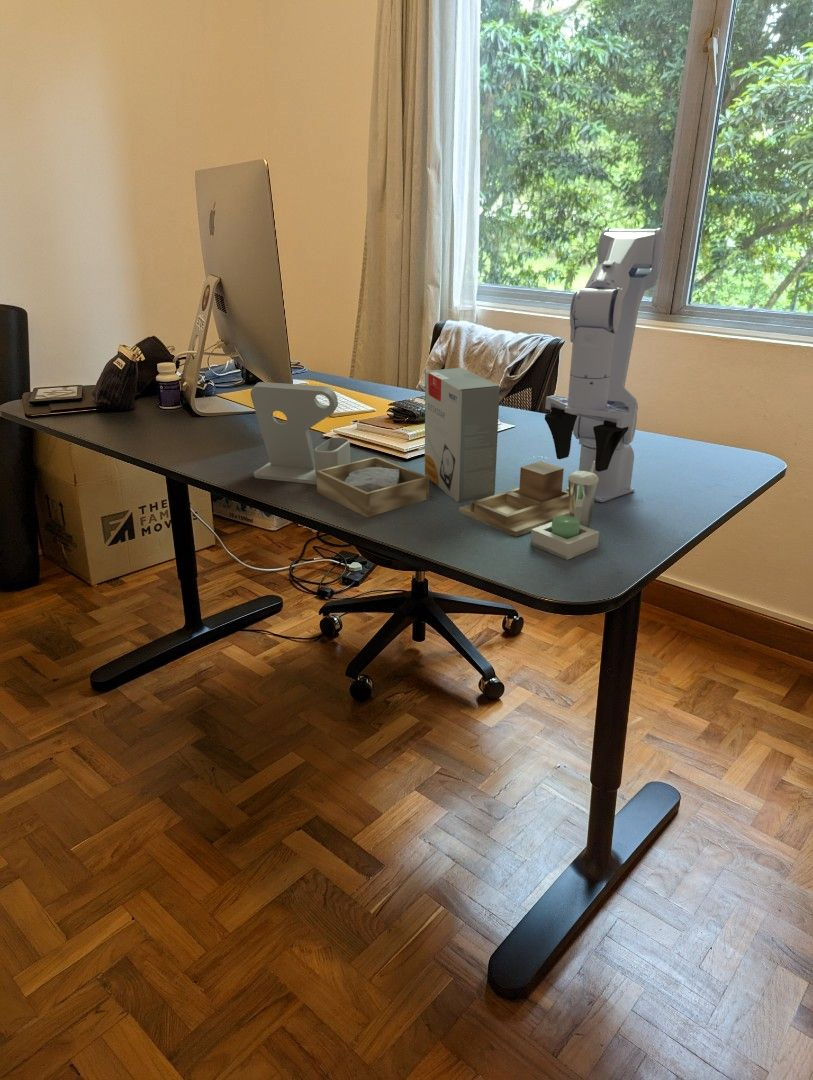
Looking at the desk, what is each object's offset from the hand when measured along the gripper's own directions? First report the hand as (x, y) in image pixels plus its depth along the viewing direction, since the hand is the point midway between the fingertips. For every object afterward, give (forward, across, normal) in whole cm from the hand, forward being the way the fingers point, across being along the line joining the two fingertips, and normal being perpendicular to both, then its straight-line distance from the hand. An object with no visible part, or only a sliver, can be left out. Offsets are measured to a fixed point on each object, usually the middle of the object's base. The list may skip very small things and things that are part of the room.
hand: (581, 463), depth 114 cm
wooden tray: (+10, -31, -17) cm, 37 cm away
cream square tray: (+10, +4, -7) cm, 13 cm away
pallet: (+10, -10, -2) cm, 14 cm away
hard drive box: (+11, -26, -2) cm, 28 cm away
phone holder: (+11, -49, -20) cm, 54 cm away
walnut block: (+10, -10, +2) cm, 14 cm away
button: (+9, +4, -7) cm, 12 cm away
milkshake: (+10, 0, 0) cm, 11 cm away
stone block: (+10, -31, -18) cm, 37 cm away
